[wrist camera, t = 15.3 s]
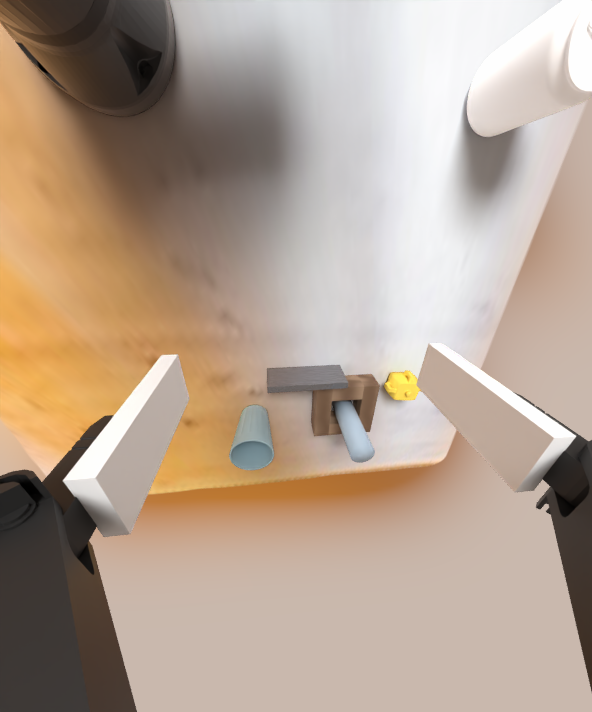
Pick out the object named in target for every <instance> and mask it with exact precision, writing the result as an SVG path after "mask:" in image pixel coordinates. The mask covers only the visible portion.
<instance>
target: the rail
mask: <svg viewBox="0 0 592 712" xmlns="http://www.w3.org/2000/svg"><path fill="white" fill-rule="evenodd" d="M267 388H268V393H274V392H291V391H308V390H325V389H342V388H348V381H347V379H346V377H345V375H344V373H343V371H342V369H341V367H340V365H327V366H307V367H287V368H267Z"/></svg>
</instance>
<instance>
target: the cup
mask: <svg viewBox="0 0 592 712" xmlns="http://www.w3.org/2000/svg"><path fill="white" fill-rule="evenodd" d="M229 457H230V460H231V462H232V463H233V464H234V465H235V466H236V467H238V468H241V469H244V470H257V469H261V468H264V467H266V466H267V465H269V464H270V463H271V462H272V460H273V458H274V450H273V444H272V437H271V431H270V425H269V418H268V413H267V411H266V409H265V408H263V407H262V406H259V405H250V406H248V407H246V408H245V409H244V410H243V411H242V413H241V417H240V420H239V423H238V427H237V430H236V433H235V437H234V440H233V443H232V447H231V450H230V454H229Z"/></svg>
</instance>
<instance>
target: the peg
mask: <svg viewBox="0 0 592 712" xmlns="http://www.w3.org/2000/svg"><path fill="white" fill-rule="evenodd" d="M332 406H333V409H334V412H335V415H336V417H337V420H338V423H339V426H340V429H341V431H342V434H343V437H344V440H345V443H346V445H347V448H348V451H349V454H350V457H351V459H352V460H353V461H355V462H365V461H368V460H369V459H371V458H372V457H373V456H374V453H375V451H374V448H373V446H372V444H371V442H370V440H369V438H368V436H367V433H366V431H365V429H364V427H363V425H362V423H361V421H360V419H359V416H358V414H357V412H356V410H355V408H354V406H353V404H352V402H351V400H342V401H332Z"/></svg>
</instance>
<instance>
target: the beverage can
mask: <svg viewBox="0 0 592 712" xmlns="http://www.w3.org/2000/svg"><path fill="white" fill-rule="evenodd" d="M590 98H592V0H563V1H561V2H560V3H559V4H557V5H556V6H555V7H553V8H552V9H551V10H549V11H548V12H547V13H545V14H544V15H543V16H541V17H540V18H539V19H537V20H536V21H535V22H533V23H532V24H531V25H529V26H528V27H527V28H525V29H524V30H523V31H521V32H520V33H519V34H517V35H516V36H515V37H513V38H512V39H511V40H509V41H508V42H507V43H505V44H504V45H503V46H501V47H500V48H499V49H497V50H496V51H495V52H493V53H492V54H491V55H490V56H489V57H488V58H487V59H486V60H485V61H484V63H483V64H482V65H481V67H480V68H479V70H478V71H477V73H476V75H475V77H474V79H473V81H472V84H471V87H470V90H469V94H468V99H467V117H468V121H469V124H470V126H471V128H472V129H473V130H474V131H475V132H476V133H477V134H478V135H480V136H483V137H492V136H496V135H499V134H501V133H504V132H507V131H509V130H512V129H515V128H517V127H520V126H523V125H525V124H528V123H530V122H533V121H536V120H538V119H541V118H544V117H546V116H549V115H552V114H554V113H557V112H560V111H562V110H565V109H568V108H570V107H573V106H576V105H578V104H581V103H583V102H585V101H587V100H589V99H590Z"/></svg>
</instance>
